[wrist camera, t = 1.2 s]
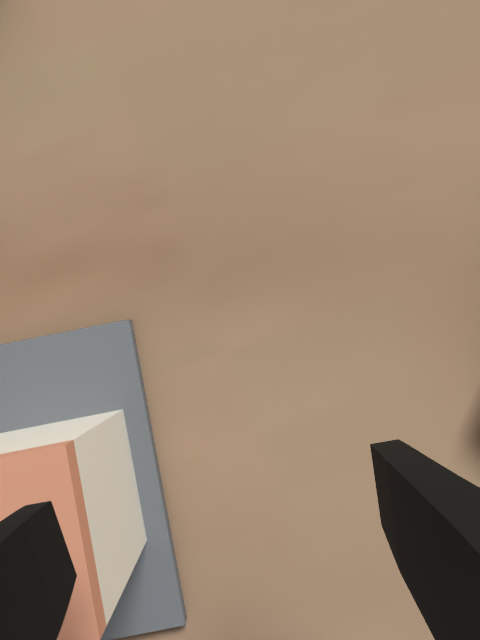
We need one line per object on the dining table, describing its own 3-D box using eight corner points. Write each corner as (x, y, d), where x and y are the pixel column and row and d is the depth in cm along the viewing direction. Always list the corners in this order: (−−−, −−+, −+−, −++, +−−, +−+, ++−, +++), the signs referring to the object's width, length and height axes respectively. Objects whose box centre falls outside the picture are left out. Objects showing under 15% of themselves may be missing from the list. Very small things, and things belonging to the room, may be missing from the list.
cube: (146, 540, 18) (99, 640, 12) (17, 565, 18) (-94, 677, 12) (122, 409, 19) (65, 444, 13) (-6, 434, 19) (-124, 481, 13)
